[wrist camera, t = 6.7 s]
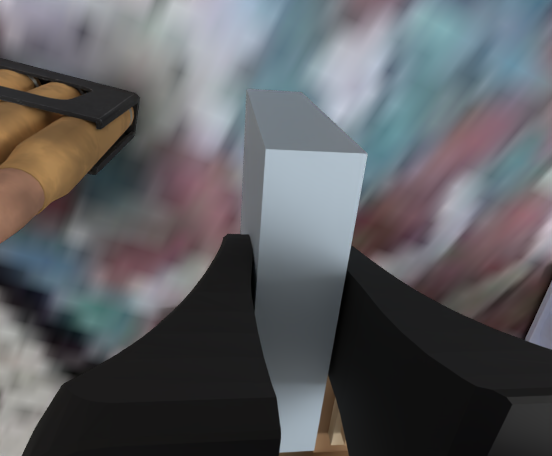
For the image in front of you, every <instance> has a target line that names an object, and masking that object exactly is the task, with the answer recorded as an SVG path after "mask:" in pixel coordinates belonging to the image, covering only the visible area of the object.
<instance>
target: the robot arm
mask: <svg viewBox="0 0 552 456" xmlns="http://www.w3.org/2000/svg"><path fill="white" fill-rule="evenodd" d="M252 255H253V248H252V243H251V239H250V236H249V234H227V235H226V236H225V237H223V241H222V244H221V247H220V249H219V251H218V253H217V255H216V257H215V258H214V260H213V261H212V263H211V265H210V266H209V268H208V270H207V271H206V273H205V274H204V275H203V277H202V278H201V279H200V281H199V282H198V283H197V285H196V286H195V287H194V288H193V290H192V291H191V292H190V293H189V294H188V296H187V297H186V298H185V299H184V300H183V301H182V302H181V303H180V304H179V305H178V306H177V307H176V308H175V309H174V310H173V311H172V312H171V313H170V314H169V315H168V316H167V317H166V318H165V319H164V320H162V321H161V322H160V323H159V324H158V325H157V326H156V327H155V328H153V329H152V330H151V331H150V332H148V333H147V334H146V335H145V336H143V337H142V338H140V339H139V340H138V341H136V342H135V343H133V344H132V345H130V346H129V347H127V348H126V349H124V350H123V351H121V352H120V353H118V354H117V355H115V356H113V357H112V358H110V359H108V360H107V361H105V362H103V363H101V364H99V365H98V366H96V367H94V368H92V369H90V370H89V371H87V372H85V373H83V374H81V375H79V376H78V377H76V378H74V379H72V380H70V381H68V382H66V383H64V384H63V385H62V386H61V388H60V389H59V391H58V392H57V394H56V395H55V397H54V399H53V400H52V402H51V403H50V405H49V407H48V408H47V410H46V411H45V413H44V415H43V416H42V418H41V419H40V421H39V423H38V424H37V426H36V428H35V430H34V431H33V434H32V436H31V438H30V440H29V442H28V444H27V446H26V448H25V450H24V452H23V455H22V456H279V451H280V444H281V427H280V419H279V412H278V404H277V397H276V394H275V391H274V389H273V386H272V383H271V380H270V376H269V373H268V369H267V366H266V363H265V359H264V355H263V351H262V347H261V342H260V338H259V334H258V329H257V323H256V318H255V313H254V307H253V300H252V294H251V273H252ZM328 377H329V380H330V383H331V386H332V389H333V392H334V395H335V398H336V401H337V405H338V409H339V412H340V416H341V421H342V426H343V430H344V435H345V440H346V444H347V449H348V454H349V456H552V282H551V284H550V286H549V288H548V290H547V292H546V295H545V297H544V299H543V301H542V303H541V305H540V308H539V310H538V312H537V314H536V316H535V319H534V321H533V323H532V325H531V327H530V329H529V332H528V334H527V336H526V338H525V340H522V339H519V338H517V337H514V336H511V335H509V334H506V333H503V332H501V331H498V330H496V329H493V328H491V327H489V326H486V325H484V324H482V323H479V322H477V321H475V320H472V319H470V318H468V317H466V316H463V315H461V314H459V313H457V312H455V311H453V310H451V309H449V308H447V307H445V306H443V305H441V304H440V303H438V302H436V301H434V300H432V299H430V298H428V297H426V296H425V295H423V294H421V293H419V292H418V291H416V290H414V289H413V288H411V287H410V286H408V285H407V284H405V283H403V282H402V281H400V280H399V279H397V278H396V277H394V276H393V275H391V274H390V273H388V272H387V271H385V270H384V269H383V268H381V267H380V266H378V265H377V264H376V263H374V262H373V261H372V260H370V259H369V258H367V257H366V256H365V255H363V254H362V253H361V252H359V251H358V250H357V249H355V248H354V247H353V246H351V249H350V254H349V260H348V265H347V271H346V277H345V282H344V288H343V293H342V299H341V304H340V310H339V315H338V321H337V326H336V332H335V338H334V343H333V349H332V354H331V360H330V365H329V371H328Z"/></svg>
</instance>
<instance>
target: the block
mask: <svg viewBox="0 0 552 456" xmlns="http://www.w3.org/2000/svg"><path fill="white" fill-rule="evenodd" d="M367 155H368V154H367V153H366V152H365V151H364V150H363V149H362V148H361V147H360V146H359V145H358V144H357V143H356V142H355V141H353V140H352V139H351V138H350V137H349V136H348V135H347V134H346V133H345V132H344V131H343V130H342V129H341V128H339V127H338V126H337V125H336V124H335V123H334V122H333V121H332V120H331V119H330V118H329V117H328V116H327V115H326V114H324V113H323V112H322V111H321V110H320V109H319V108H318V107H317V106H316V105H315V104H314V103H313V102H312V101H310V100H309V99H308V98H307V97H306V96H305V95H304V94H303V93H302V92H291V91H275V90H259V89H247V90H246V114H245V137H244V161H243V184H242V208H241V231H240V234H249V236H250V239H251V243H252V248H253V255H252V273H251V294H252V300H253V307H254V313H255V318H256V323H257V329H258V334H259V338H260V342H261V347H262V351H263V355H264V359H265V363H266V366H267V369H268V373H269V376H270V380H271V383H272V386H273V389H274V391H275V394H276V397H277V404H278V412H279V419H280V427H281V444H280V451H279V453H281V452H299V451H314V448H315V443H316V437H317V432H318V426H319V421H320V415H321V410H322V404H323V398H324V393H325V387H326V382H327V376H328V371H329V365H330V360H331V354H332V349H333V343H334V338H335V332H336V326H337V321H338V315H339V310H340V304H341V299H342V293H343V288H344V282H345V277H346V271H347V265H348V260H349V254H350V249H351V243H352V238H353V232H354V227H355V221H356V216H357V210H358V204H359V199H360V193H361V188H362V182H363V177H364V171H365V166H366V160H367Z"/></svg>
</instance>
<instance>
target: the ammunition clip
mask: <svg viewBox="0 0 552 456" xmlns="http://www.w3.org/2000/svg"><path fill="white" fill-rule="evenodd" d="M139 99H140V97H139V96H138V95H137V94H136V93H133V92H129V91H125V90H122V89H118V88H114V87H110V86H106V85H102V84H98V83H95V82H91V81H87V80H83V79H79V78H75V77H71V76H67V75H64V74H60V73H56V72H52V71H48V70H44V69H40V68H36V67H33V66H29V65H25V64H21V63H17V62H13V61H9V60H6V59H2V58H0V243H2V242H3V241H5V240H6V239H8V238H9V237H11V236H12V235H13V234H15V233H16V232H18V231H19V230H20V229H21V228H23V227H24V226H25V225H26V224H27V223H28V222H29V221H30V220H31V219H32V218H33V217H34V216H35V215H37V214H39V213H40V212H41V211H42V210H44V209H45V208H46V207H47V206H48V205H49V204H50V203H51V202H53V201H55V200H57V199H59V198H61V197H63V196H65V195H67V194H68V193H69V192H70V191H71V190H72V189H73V188H74V187H75V186H76V185H77V184H78V182H79V181H80V180H81V179H82V178H83V177H84V176H85V175H86V174H92V175H96V174H97V173H98V172H99V171H100V170H101V169H102V168H103V167H104V166H105V165H106V164H107V163H108V162H109V161H110V160H111V159H112V158H113V157H114V156H115V155H116V154H117V153H118V152H119V151H120V150H121V149H122V148H123V147H124V146H125V145H126V144H127V143H128V142H129V141H130V140H131V139H132V138H133V137H134V136H135V129H136V121H137V114H138V106H139Z"/></svg>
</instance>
